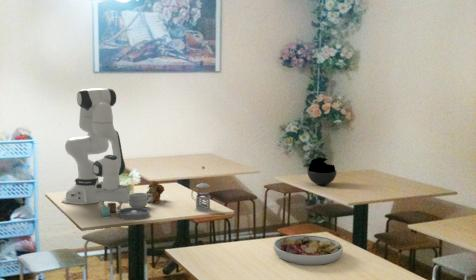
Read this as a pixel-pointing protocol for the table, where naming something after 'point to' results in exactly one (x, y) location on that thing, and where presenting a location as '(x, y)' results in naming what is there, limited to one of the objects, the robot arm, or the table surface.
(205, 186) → the french press
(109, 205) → the walnut bead
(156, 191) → the stuffed squirrel
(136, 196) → the teacup
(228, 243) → the table surface
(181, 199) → the table surface
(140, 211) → the groove tray
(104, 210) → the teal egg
